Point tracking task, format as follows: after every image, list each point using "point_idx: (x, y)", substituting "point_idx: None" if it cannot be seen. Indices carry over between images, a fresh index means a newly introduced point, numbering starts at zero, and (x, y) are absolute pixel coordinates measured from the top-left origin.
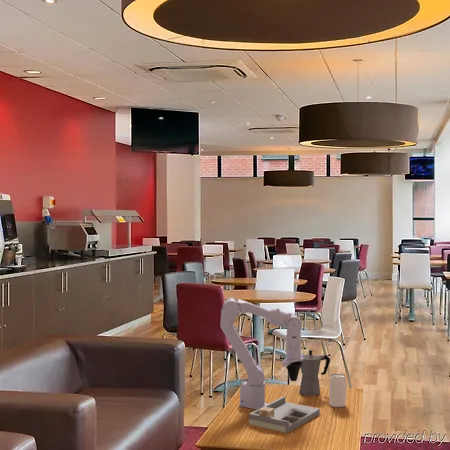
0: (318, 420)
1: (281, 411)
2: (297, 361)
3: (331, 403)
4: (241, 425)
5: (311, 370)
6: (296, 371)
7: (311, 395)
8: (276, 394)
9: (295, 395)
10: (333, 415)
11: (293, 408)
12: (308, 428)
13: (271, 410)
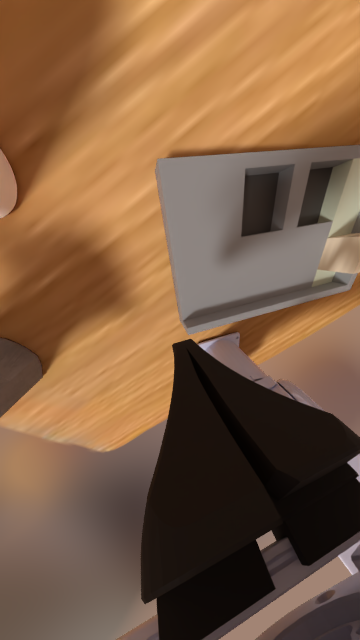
0: (225, 120)
1: (262, 268)
2: (211, 595)
3: (8, 180)
4: None
5: None
6: (232, 381)
7: (14, 342)
8: (116, 389)
9: (73, 365)
10: (119, 77)
11: (221, 260)
12: (319, 104)
13: None
